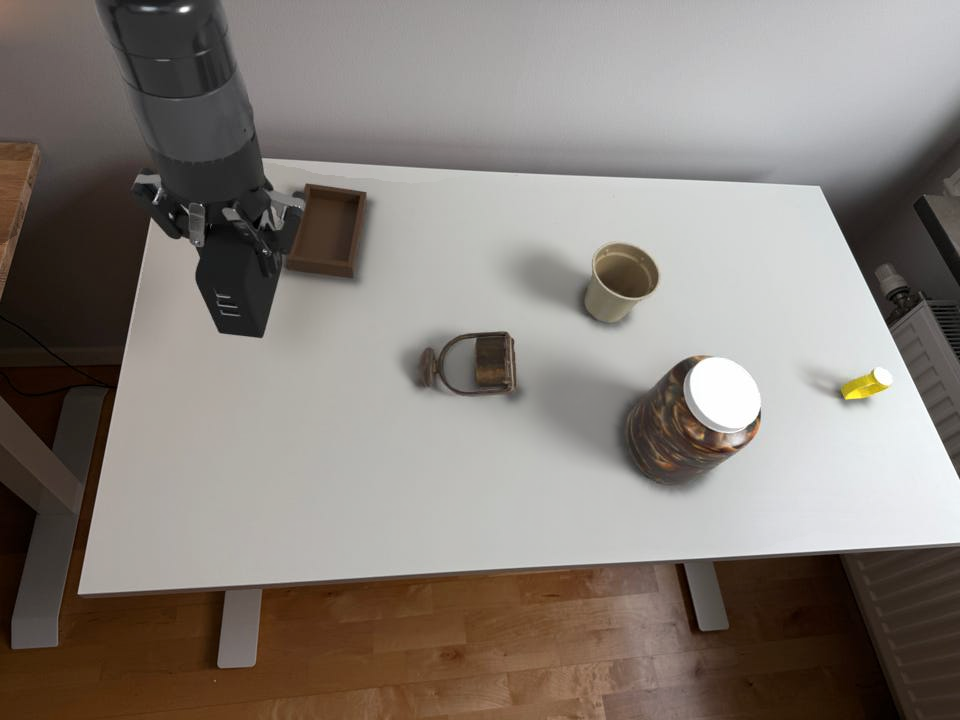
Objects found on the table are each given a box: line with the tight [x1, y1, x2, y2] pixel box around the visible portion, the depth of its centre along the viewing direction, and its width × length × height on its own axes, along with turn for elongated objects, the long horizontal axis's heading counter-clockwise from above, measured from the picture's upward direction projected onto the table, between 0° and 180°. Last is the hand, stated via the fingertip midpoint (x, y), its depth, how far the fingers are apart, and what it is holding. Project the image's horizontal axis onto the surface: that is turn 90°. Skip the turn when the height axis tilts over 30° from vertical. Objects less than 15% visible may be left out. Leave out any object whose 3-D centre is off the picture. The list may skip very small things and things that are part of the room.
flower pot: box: [583, 241, 662, 324], centre depth 83 cm, size 9×9×9 cm
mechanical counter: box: [418, 330, 517, 397], centre depth 75 cm, size 7×13×10 cm
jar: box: [623, 354, 762, 487], centre depth 71 cm, size 12×12×15 cm
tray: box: [286, 182, 368, 279], centre depth 84 cm, size 9×14×2 cm, turn 177°
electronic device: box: [194, 206, 283, 339], centre depth 58 cm, size 4×10×10 cm, turn 177°
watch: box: [839, 366, 894, 401], centre depth 83 cm, size 6×3×6 cm, turn 99°
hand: (243, 266), depth 57 cm, fingers closed on electronic device, 4 cm apart
